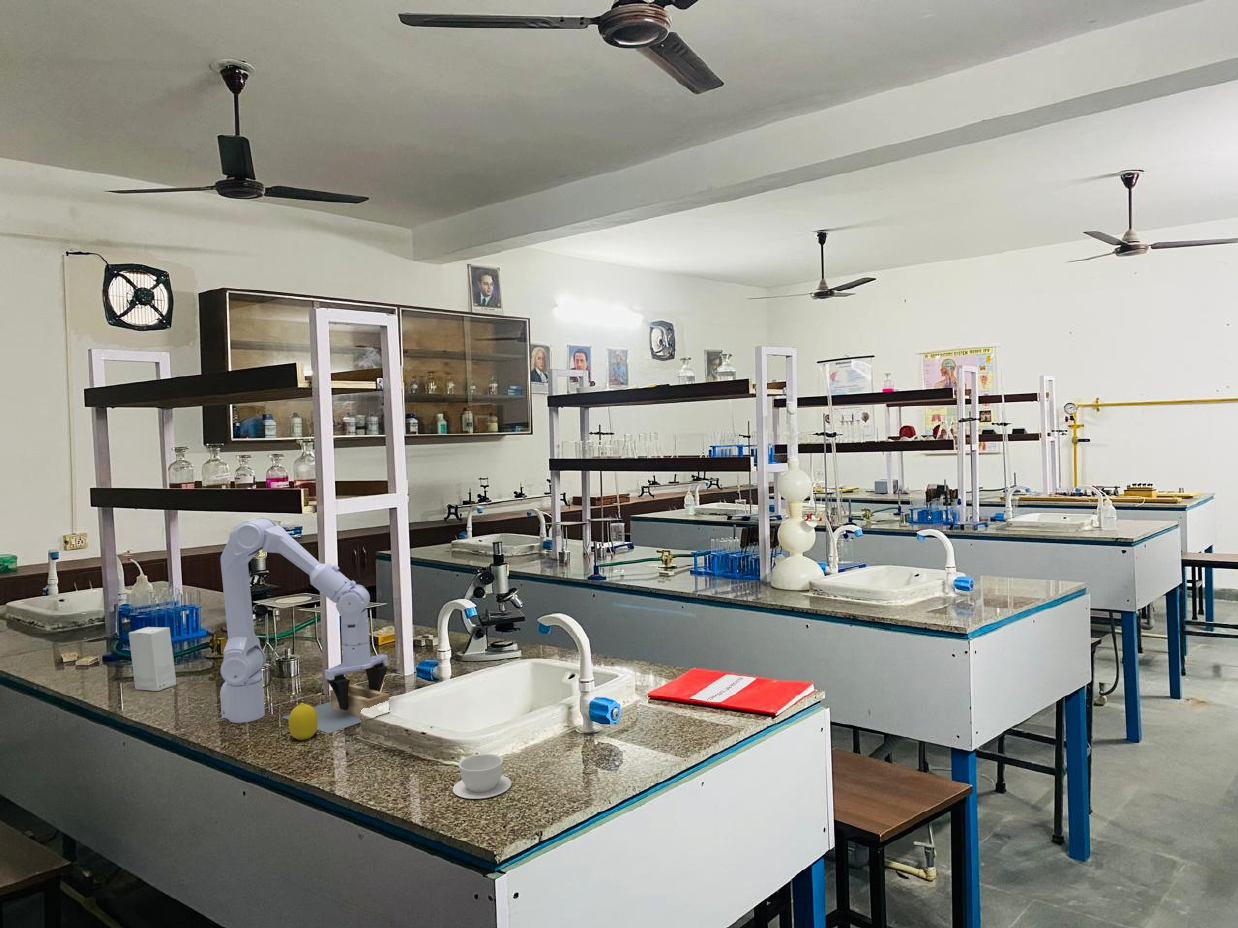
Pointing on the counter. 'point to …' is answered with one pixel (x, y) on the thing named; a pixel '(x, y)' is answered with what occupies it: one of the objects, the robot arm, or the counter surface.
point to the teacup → (481, 777)
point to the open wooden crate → (359, 699)
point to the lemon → (303, 722)
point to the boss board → (332, 718)
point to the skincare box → (152, 658)
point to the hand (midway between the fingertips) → (359, 703)
